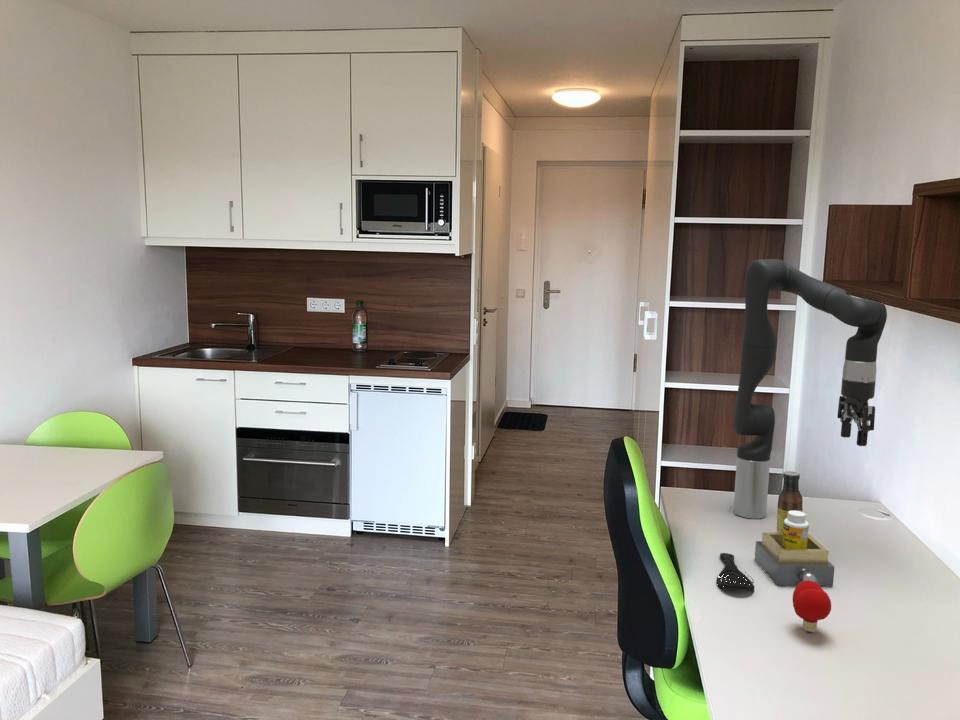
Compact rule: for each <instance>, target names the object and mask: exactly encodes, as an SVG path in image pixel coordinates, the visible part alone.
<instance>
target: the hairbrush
mask: <svg viewBox="0 0 960 720" xmlns="http://www.w3.org/2000/svg"><path fill="white" fill-rule="evenodd" d="M719 554H720V555H719V556H720V558H721V559H722V560H723V561H724V562H725V566H724V567H723V568H722V569H721V571H720V573H719V574H718V575H719V576H720V577H721V576H722V575H723V574H724V575H723V577H722V578H718V577H717V578H716V581H717V582H716V585H717V584H718V585H717V586H719V588H722V589H730V590H731V589H733V590H742V591H751V592H752V591H755V584H754V583H755V581H754V579H753V578H752V576H750V575H749V573H747V571H745V572H743V571H741V570H739V567H738V565H737V564H736V563H735V555H734V554H733V553H732V554H731V553H727V552H721V553H719ZM746 573H747V575H748V576H747V575H746ZM727 575H729V576H727ZM726 576H727V577H726ZM724 577H726V578H724ZM738 577H739V578H738ZM743 577H744V578H743ZM750 578H751V579H750ZM729 579H730V580H729ZM745 579H746V580H747V581H746V580H745ZM721 580H722V581H721ZM726 581H727V582H726ZM733 581H734V582H733ZM735 581H736V583H735ZM730 582H731V583H730ZM740 583H741V584H740ZM744 583H745V584H744ZM749 584H750V585H749ZM723 586H724V587H723Z"/></svg>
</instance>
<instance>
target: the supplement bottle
mask: <svg viewBox="0 0 960 720" xmlns="http://www.w3.org/2000/svg"><path fill="white" fill-rule="evenodd" d="M806 517H807V514H806V513H805V512H801V511H789V512H788V518H786V519H785V520H784V526H783V539H782V548H783V549H807V539H808V533H809V527H810V523H809V522H808V521H807V519H806Z"/></svg>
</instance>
